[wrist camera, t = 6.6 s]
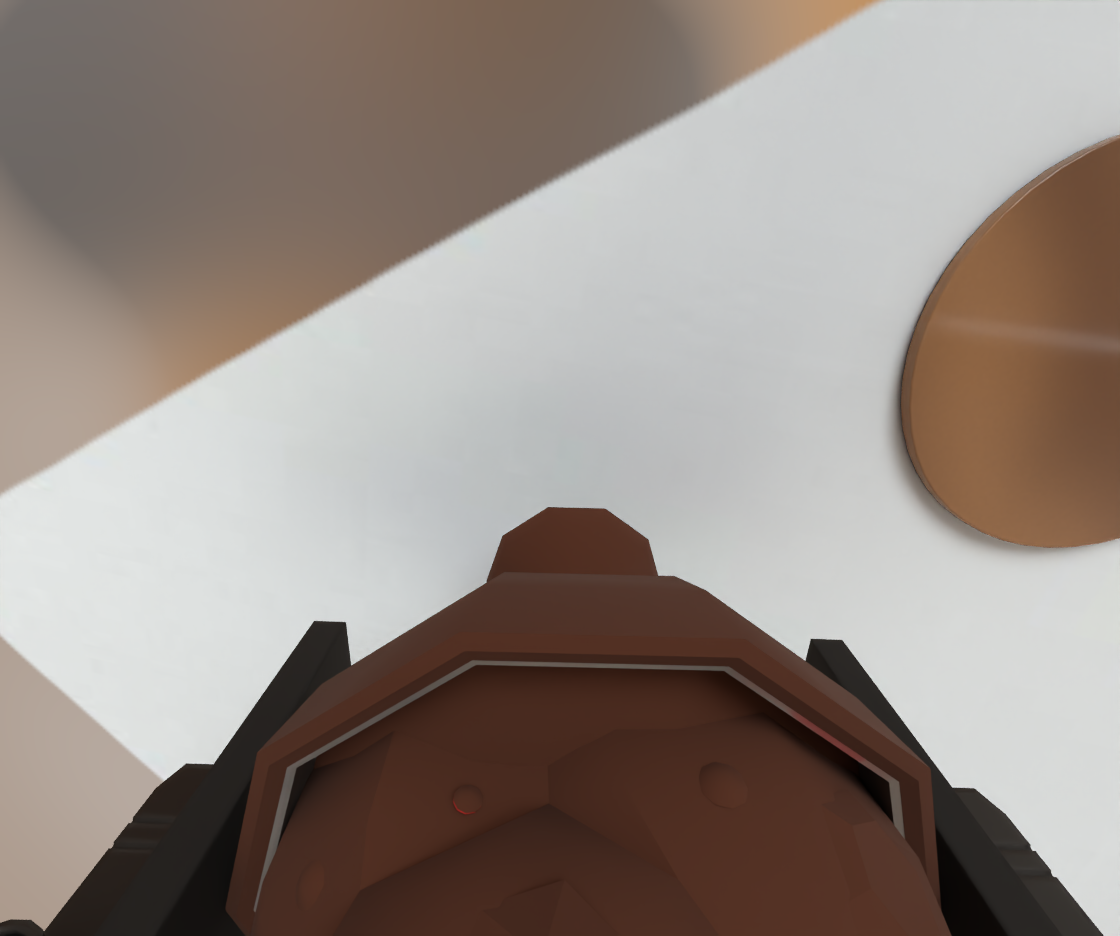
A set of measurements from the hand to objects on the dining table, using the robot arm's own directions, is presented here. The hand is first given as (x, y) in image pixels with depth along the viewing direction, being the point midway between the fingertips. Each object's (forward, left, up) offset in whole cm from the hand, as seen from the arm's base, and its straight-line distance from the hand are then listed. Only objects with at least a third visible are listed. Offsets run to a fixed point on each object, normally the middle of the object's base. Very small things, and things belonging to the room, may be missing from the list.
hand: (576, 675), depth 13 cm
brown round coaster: (-19, +9, -9) cm, 23 cm away
